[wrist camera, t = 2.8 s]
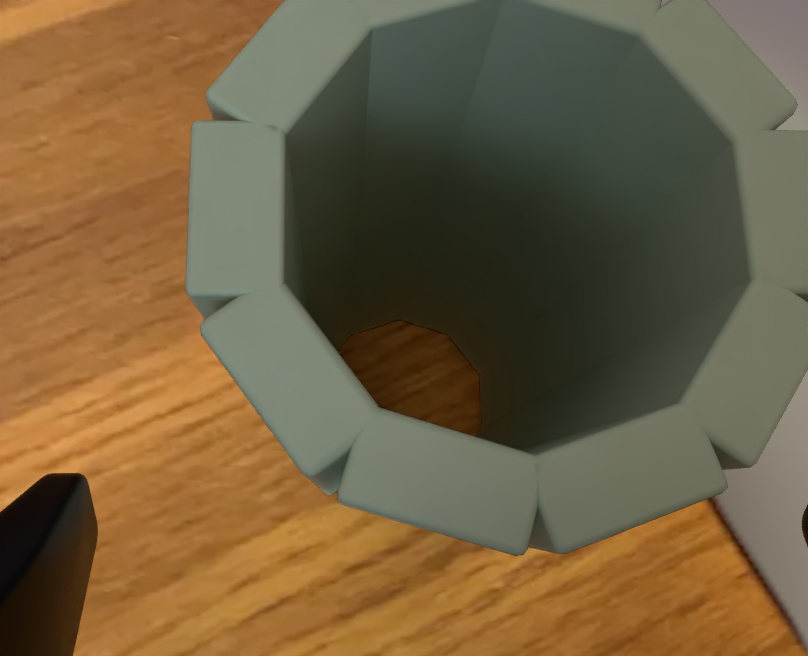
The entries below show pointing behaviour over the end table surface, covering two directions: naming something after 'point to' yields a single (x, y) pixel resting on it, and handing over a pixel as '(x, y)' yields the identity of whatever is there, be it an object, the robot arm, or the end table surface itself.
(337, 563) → the end table surface
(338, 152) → the sleeve
